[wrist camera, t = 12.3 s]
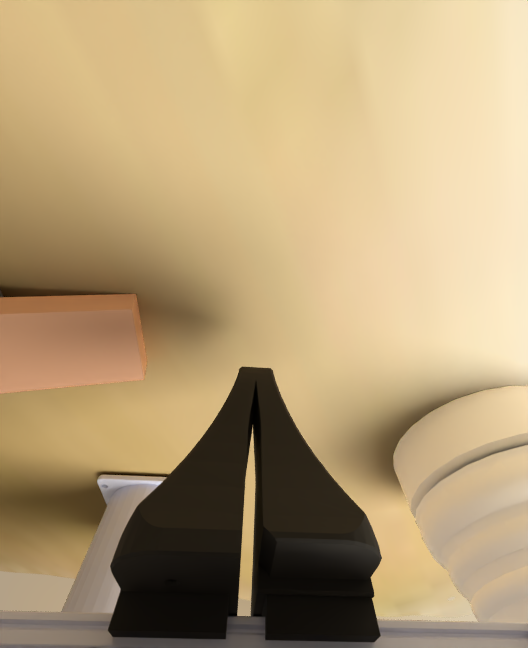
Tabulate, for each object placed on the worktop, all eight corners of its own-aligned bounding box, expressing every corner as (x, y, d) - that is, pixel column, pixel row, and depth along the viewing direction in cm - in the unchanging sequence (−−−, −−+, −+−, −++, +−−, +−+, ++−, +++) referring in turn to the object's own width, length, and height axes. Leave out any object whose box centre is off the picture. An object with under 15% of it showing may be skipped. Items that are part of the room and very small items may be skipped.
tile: (144, 379, 16) (-11, 394, 14) (147, 360, 17) (5, 372, 15) (131, 309, 13) (-57, 316, 12) (136, 293, 15) (-33, 298, 13)
